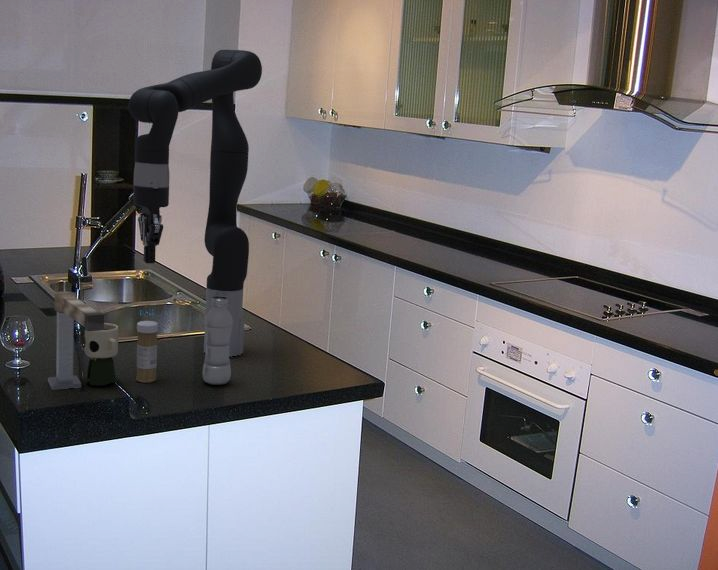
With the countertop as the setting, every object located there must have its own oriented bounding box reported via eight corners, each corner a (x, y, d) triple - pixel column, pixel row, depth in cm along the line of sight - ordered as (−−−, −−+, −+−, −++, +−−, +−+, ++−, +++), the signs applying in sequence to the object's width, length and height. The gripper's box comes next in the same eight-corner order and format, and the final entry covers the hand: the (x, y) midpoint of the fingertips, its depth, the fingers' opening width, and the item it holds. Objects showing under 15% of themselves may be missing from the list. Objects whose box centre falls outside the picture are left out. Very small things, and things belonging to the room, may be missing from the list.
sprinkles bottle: (149, 376, 199) (150, 319, 196) (160, 381, 196) (162, 323, 193) (131, 379, 196) (133, 321, 193) (143, 384, 193) (144, 326, 190)
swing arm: (51, 308, 186) (51, 292, 185) (72, 306, 189) (72, 291, 188) (84, 332, 169) (84, 314, 168) (106, 330, 172) (107, 313, 171)
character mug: (73, 380, 192) (73, 323, 190) (101, 374, 197) (102, 319, 195) (99, 393, 185) (100, 334, 183) (128, 387, 190) (129, 329, 188)
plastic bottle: (205, 388, 193) (209, 301, 189) (198, 379, 199) (202, 294, 195) (233, 387, 196) (238, 300, 192) (226, 378, 202) (230, 294, 198)
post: (76, 379, 193) (77, 307, 190) (81, 387, 187) (82, 313, 184) (48, 381, 190) (48, 308, 187) (52, 390, 185) (52, 314, 182)
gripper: (127, 180, 191) (125, 257, 195) (141, 186, 180) (139, 268, 183) (160, 181, 195) (158, 257, 198) (176, 187, 183) (174, 268, 187)
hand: (149, 262), depth 191 cm, fingers closed
